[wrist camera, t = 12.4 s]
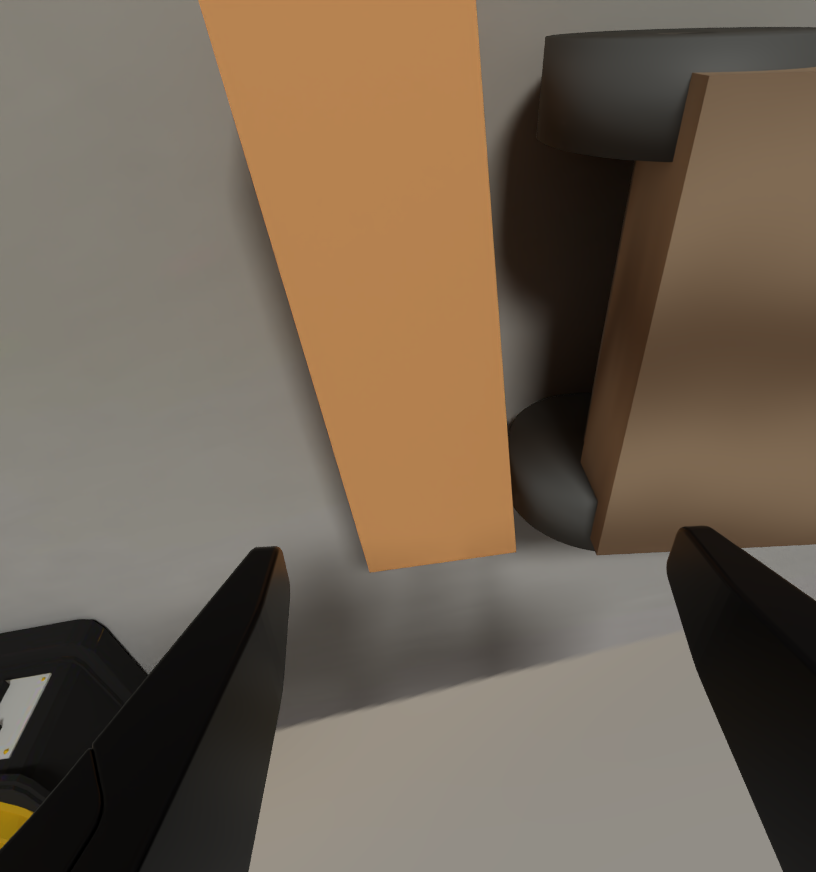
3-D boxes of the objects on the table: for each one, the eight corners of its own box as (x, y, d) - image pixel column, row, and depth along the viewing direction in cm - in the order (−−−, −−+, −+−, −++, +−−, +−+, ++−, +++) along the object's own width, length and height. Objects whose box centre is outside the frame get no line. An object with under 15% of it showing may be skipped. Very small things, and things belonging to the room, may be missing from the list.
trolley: (848, 423, 23) (989, 546, 18) (493, 440, 23) (527, 570, 17) (1057, 14, 15) (1418, 14, 10) (521, 34, 15) (598, 44, 10)
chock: (444, -46, 14) (470, -71, 10) (492, 459, 24) (516, 551, 19) (246, -6, 14) (194, -14, 10) (371, 477, 24) (369, 572, 20)
